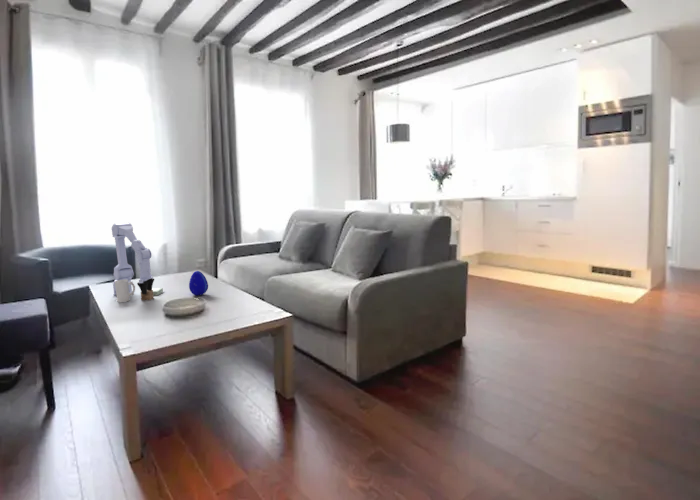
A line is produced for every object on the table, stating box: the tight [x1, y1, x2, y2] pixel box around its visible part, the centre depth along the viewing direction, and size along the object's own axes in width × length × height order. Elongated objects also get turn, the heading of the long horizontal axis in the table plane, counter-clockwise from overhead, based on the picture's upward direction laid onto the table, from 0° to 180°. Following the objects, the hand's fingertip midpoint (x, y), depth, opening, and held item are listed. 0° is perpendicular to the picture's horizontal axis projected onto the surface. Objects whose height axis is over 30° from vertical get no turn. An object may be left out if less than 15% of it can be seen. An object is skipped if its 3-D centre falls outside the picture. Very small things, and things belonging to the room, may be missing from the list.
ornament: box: [188, 270, 209, 296], centre depth 258 cm, size 11×9×15 cm
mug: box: [114, 280, 136, 303], centre depth 248 cm, size 10×7×12 cm, turn 119°
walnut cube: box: [140, 290, 154, 301], centre depth 251 cm, size 5×5×5 cm
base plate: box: [152, 287, 164, 297], centre depth 263 cm, size 9×9×3 cm
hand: (147, 292), depth 251 cm, fingers open, 7 cm apart
